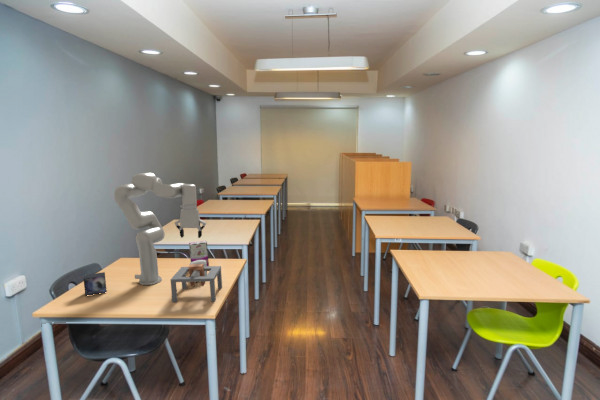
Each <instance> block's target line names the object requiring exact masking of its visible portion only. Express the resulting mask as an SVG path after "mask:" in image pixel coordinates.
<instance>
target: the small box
mask: <svg viewBox="0 0 600 400" xmlns="http://www.w3.org/2000/svg"><path fill="white" fill-rule="evenodd" d="M83 286H84V294H85V295H84V297H85V296H87V295H93V294H98V295H100V294H99V293H104V294H106V293H105V292H107V293H108V291H107V290H106V289H107V281H106V273H105V271H103V272H97V273H89V274H85V275H83ZM93 296H94V295H93ZM87 297H88V296H87Z"/></svg>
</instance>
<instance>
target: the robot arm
mask: <svg viewBox="0 0 600 400" xmlns="http://www.w3.org/2000/svg"><path fill="white" fill-rule="evenodd" d="M148 192H153V194H154V195H155V196H156V197H160V198H163V199H164V198H165V199H175V198H180V197H181V203H182V204H179V208H181V209H180V215H179V216H180V218H179V219H178V220H176V221H175V222H174V224H175V227H176V228H177V229H178V231H179V236H180V239H181V238H184V237H185V234H184V233H185V230H184V229H197V230H198V231H197V239H200V238H201V237H202V236H203V232H202V230H203V229H204V228H205V226H206V225H207V222H206V221H204V220H202V219H201V218H200V217H201V216H200V212H199V209H198V207H197V205H198V203H197V201H198V200H197V187H196V184H193V183H184V182H175V183H171V184H166V183H163V181H162V179H161V178H160V177H157V176H156V174H154V173H153V172H141V173H136V174H135V175H133V176H132V179H131V183H125V184H121V185H119V186H117V187H116V188H115V190H114V193H113V196H114V197H113V198H114V200H115V203H116V204H117V206H118V207H119V209H120V210H121V211H122V213H123V215H124V216H125V219H126V220H127V221H128V223H129V225H130V227H131V228H132V229H133V230H140V231H138V233H137V234H136V236H135V241H136V245H137V249H138V254H139V255H138V256H139V267H140V268H139V269H140V274H135V275H134V278H135V280H138V279H139V280H138V283H139V285H141V286H142V285H143V286H151V285H155V284H158V283H160V282H162V276H161V275H159V266H158V255H157V250H156V248H155V246H154V244H156V243H158V242H161V241H162V240H164V238H165V235H166V234H165V231H164V228H163V227H162V224H161V223H160V221H159V219H158V218H157V215H156V214H154V212H152V211H150V210H143V211H141V210H140V208H139V206H138V205H137V204H136V202H134V201H133V200H131V199H133V198H137V197H138V198H139V197H141V196H144V195H145V194H147V193H148ZM201 224H202V226H201ZM144 228H145V229H144ZM141 229H142V230H141Z"/></svg>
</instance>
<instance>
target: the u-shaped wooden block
mask: <svg viewBox="0 0 600 400" xmlns="http://www.w3.org/2000/svg"><path fill="white" fill-rule="evenodd" d="M188 267H189V271H188V273H189V274H188V275H189V276H188V277H191V274H192V273H193V272H194V270H199V273H200V276H205V274H204V264H191V265H190V264H189V265H188ZM199 283H200V287H204V286H205V285H206V282H199ZM195 285H196V282H189V286H190V287H195Z"/></svg>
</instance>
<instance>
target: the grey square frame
mask: <svg viewBox="0 0 600 400" xmlns="http://www.w3.org/2000/svg"><path fill="white" fill-rule="evenodd" d="M198 271H199V270H194V272H193V273H192V274H191V277H189V276H187V274H188V273H189V266H181V267H180V268H179V269H178V270H177V272H176V273H175V274H174V275H173V276H172V277H171V279H170V289H171V301H172V302H171V303H177V302H178V292H177V291H178V290H177V283H181V289H182V290H187V289H188V287H187V283H190V282H195V283H197V282H198V283H200V282H205V283H206V282H209V290H210V291H209V292H210V302H212V303H213V302H216V300H217V299H216V286H215V285H216V284H215V281H217V289H219V290H220V289H223V280H222V266H221V265H217V266H215V265H211V266H210V265H209V266H204V271H207V276H196V274H197V273H198ZM195 276H196V277H195ZM216 278H217V280H216Z"/></svg>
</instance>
